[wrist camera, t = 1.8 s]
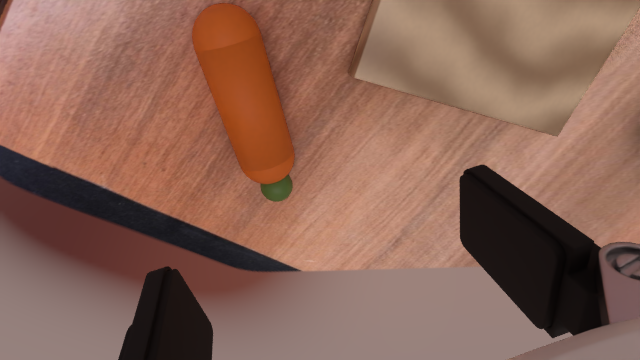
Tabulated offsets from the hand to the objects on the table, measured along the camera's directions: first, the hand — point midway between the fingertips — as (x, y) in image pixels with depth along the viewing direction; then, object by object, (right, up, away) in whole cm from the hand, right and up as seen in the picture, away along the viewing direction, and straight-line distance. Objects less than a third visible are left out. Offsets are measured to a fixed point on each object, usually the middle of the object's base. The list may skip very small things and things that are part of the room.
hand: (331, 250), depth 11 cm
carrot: (-5, +8, +13) cm, 16 cm away
